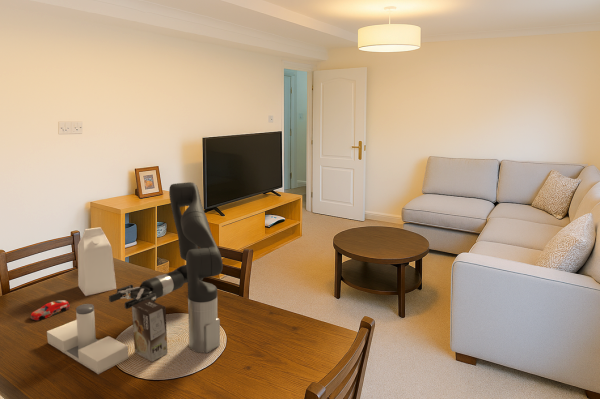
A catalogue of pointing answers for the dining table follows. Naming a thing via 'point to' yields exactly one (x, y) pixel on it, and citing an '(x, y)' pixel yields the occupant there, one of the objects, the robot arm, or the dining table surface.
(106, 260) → the milk
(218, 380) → the dining table surface
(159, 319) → the coffee box
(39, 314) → the race car
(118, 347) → the white block holder
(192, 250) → the robot arm
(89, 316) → the grey-capped white cylinder
